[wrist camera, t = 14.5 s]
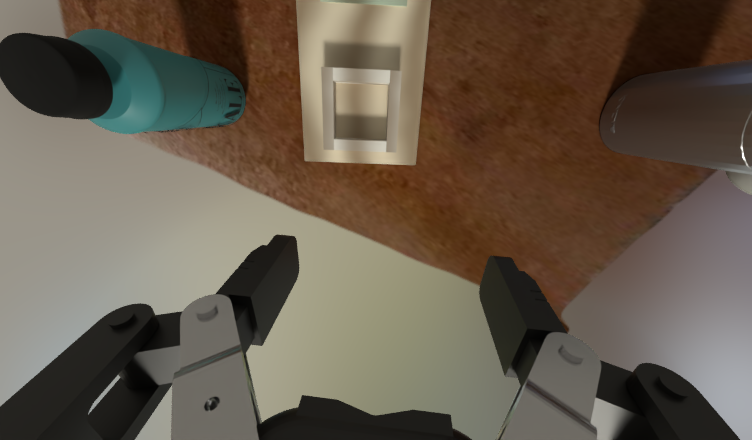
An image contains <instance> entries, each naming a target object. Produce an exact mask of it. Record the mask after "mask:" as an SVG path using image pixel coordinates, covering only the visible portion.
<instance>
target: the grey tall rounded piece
mask: <svg viewBox="0 0 752 440" xmlns="http://www.w3.org/2000/svg"><path fill="white" fill-rule="evenodd" d="M726 174H727V176H728V178H729V179H730V181H731V182H732V183H733V184H734V185H735V186H736V187H738V188H739V189H741V190H742V191H744V192H746V193H748V194H750V195H752V175H750V174H744V173H738V172H732V171H726Z"/></svg>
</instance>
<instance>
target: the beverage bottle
mask: <svg viewBox="0 0 752 440" xmlns="http://www.w3.org/2000/svg"><path fill="white" fill-rule="evenodd" d="M194 57H195V56H194ZM216 64H217V63H216ZM218 65H219V64H217V65H215V64H211V63H208V62H205V61H201V60H198V59H195V58H191V57H188V56H183V55H180V54H177V53H173V52H170V51H167V50H164V49H161V48H157V47H154V46H151V45H148V44H145V43H141V42H138V41H135V40H132V39H129V38H125V37H123V36H121V35H119V34H116V33H113V32H110V31H106V30H101V29H88V30H83V31H80V32H77V33H75V34H74V35H72V36H71V37H70V38H68V39H64V38H60V37H55V36H43V35H37V34H30V33H17V34H12V35H9V36H7V37H6V38H5V39H3V40H2V42H1V43H0V78H1V80H2V81H3V83H4V85H5V86H6V88H7V89H8V90H9V92H10V93H11V94H12V95H13V96H14V97H15V98H16V99H17V100H18V101H19V102H20V103H22V104H23V105H24V106H26V107H27V108H29V109H31V110H33V111H35V112H37V113H40V114H43V115H47V116H51V117H65V118H73V119H89V120H90V121H92V122H93V123H95V124H96V125H98V126H100V127H102V128H104V129H107V130H109V131H113V132H117V133H122V134H135V133H140V132H145V131H160V132H161V133H162V132H167V131H162V130H168V131H169V130H170V131H171V130H172V131H173V130H174V129H180V130H182V129H186V130H187V128H188V129H190V128H194V129H195V128H196V129H197V127H206V128H210V126H211V128H214V127H215V126H219V127H223V125H228V124H231V123H233V122H235V121H236V120H237V121H238V120H239V119H240V116H242V113H243V112H244V109H245V103H246V98H245V93H244V89H243V87H242V85H241V83H240V82H239V79H237V78H236V76H234V75H233V74H232V73H231V72H230V71H229V70H228V69H225V68H223V67H224V66H223V67H221V65H220V66H218ZM237 121H236V122H237ZM208 126H209V127H208ZM212 126H214V127H212ZM202 129H204V128H202ZM170 131H169V132H170ZM172 131H171V132H172ZM176 131H179V130H176ZM183 131H184V130H183ZM145 133H146V132H145Z"/></svg>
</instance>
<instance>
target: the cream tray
mask: <svg viewBox="0 0 752 440" xmlns="http://www.w3.org/2000/svg"><path fill="white" fill-rule="evenodd" d="M430 5H431V0H296V7H297V25H298V44H299V63H300V82H301V100H302V119H303V138H304V156H305V161H319V162H345V163H372V164H398V165H416V155H417V144H418V134H419V123H420V112H421V102H422V91H423V80H424V69H425V59H426V48H427V37H428V27H429V16H430Z"/></svg>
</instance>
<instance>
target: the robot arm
mask: <svg viewBox="0 0 752 440" xmlns="http://www.w3.org/2000/svg"><path fill="white" fill-rule="evenodd" d="M600 134H601V138H602V140H603V142H604V144H605V145H606V146H607V147H608V148H609V149H611V150H613V151H614V152H618V153H622V154H628V155H634V156H640V157H646V158H651V159H657V160H664V161H670V162H676V163H682V164H688V165H695V166H701V167H707V168H713V169H719V170H725V171H732V172H738V173H744V174H750V175H752V60H745V61H738V62H730V63H723V64H716V65H709V66H702V67H694V68H687V69H679V70H672V71H665V72H658V73H651V74H645V75H640V76H638V77H635V78H632V79H631V80H629V81H627V82H626V83H624V84H623V85H622V86H621V87H620V88H618V89H617V90H616V91H615V92H614V94H613V95H612V96H611V97H610V99H609V100H608V102H607V103H606V105H605V107H604V110H603V112H602V115H601V119H600ZM298 273H299V259H298V251H297V241H296V238H295V237H294V236H286V235H275V236H274V237H273V239H272V240H271V241H270V243H269V244H268V245H267V246H266V245H262V246H260V247H258V248H257V249H255V250H254V251H252V252H251V253H250V254H249V255H248V256H247V258H246V259H245V260H244V262H242V263H241V265H240V266H239V267H238V269H236V270H235V272H234V273H233V274H232V275H231V276H230V278H229V279H228V280H227V281H226V282H225V283H224V285H223V286H222V287H221V288H220V289H219V290H218V292H217V293H216V294H214V295H208V296H205V297H202V298H199V299H197V300H195V301H194V302H192V303H191V304H189V305H188V306H187V307H186V308H185V309H184V311H182V312H176V313H169V314H161V315H155V313H154V311H153V309H152V308H151V306H149V305H147V304H132V305H128V306H124V307H121V308H119V309H116V310H115V311H112V312H111V313H109V314H107V315H106V316H104V317H103V318H102V319H100V320H99V321H98V322H97V323H96V324H95V325H93V326H92V327H91V328H90V329H89V330H88V331H87V332H85V333H84V334H83V335H82V336H81V337H80V338H78V339H77V340H76V341H75V342H74V343H73V344H72V345H70V346H69V347H68V348H67V349H66V350H65V351H64V352H62V353H61V354H60V355H59V356H58V357H57V358H56V359H54V360H53V361H52V362H51V363H50V364H49V365H48V366H46V367H45V368H44V369H43V370H42V371H41V372H40V373H38V374H37V375H36V376H35V377H34V378H33V379H31V380H30V381H29V382H28V383H27V384H26V385H25V386H23V387H22V388H21V389H20V390H19V391H18V392H17V393H15V394H14V395H13V396H12V397H11V398H10V399H9V400H7V401H6V402H5V403H4V404H3V405H2V406H1V407H0V440H135V438H136V437H137V435H138V434H139V432H140V431H141V429H142V428H143V426H144V425H145V424H146V422H147V421H148V419H149V418H150V416H151V415H152V413H153V412H154V410H155V409H156V407H157V406H158V404H159V403H160V402H161V400H162V399H163V397H164V396H165V394H166V393H167V391H168V390H169V388H170V387H171V385H172V425H171V427H172V429H171V440H472V439H470V438H469V437H468V436H466V435H465V434H463V433H461V432H459V431H457V430H455V429H453V428H452V422H451V415H449V414H441V413H434V412H426V411H418V410H410V411H403V412H397V413H390V414H385V415H377V416H375V415H370V414H368V413H366V412H364V411H362V410H359V409H357V408H355V407H353V406H350V405H348V404H346V403H344V402H341V401H339V400H334V399H327V398H320V397H312V396H304V395H302V397H301V401H300V404H299V407H298V408H293V409H289V410H286V411H283V412H281V413H278V414H276V415H274V416H272V417H270V418H268V419H267V420H265V421H264V422H262V420H261V417H260V413H259V409H258V405H257V400H256V396H255V391H254V387H253V383H252V378H251V374H250V369H249V365H248V361H247V356H246V352H247V350H248V348H249V347H250V345H251V344H252V345H260V346H262V345H263V343H264V341H265V339H266V338H267V336H268V334H269V332H270V330H271V328H272V326H273V324H274V322H275V320H276V318H277V316H278V315H279V313H280V311H281V309H282V307H283V305H284V303H285V301H286V299H287V297H288V295H289V293H290V291H291V290H292V288H293V286H294V284H295V282H296V280H297V277H298ZM541 292H542V291H541V290H540V288H539V286H538V285H537V283H536V281H535V280H534V279H532V278H531V277H530V276H529V275H528V274H527V273H525V272H524V271H519V270H518V268H517V266H516V265H515V263H514V261H513V259H512V258H510V257H499V256H490V257H489V259H488V261H487V265H486V268H485V271H484V274H483V277H482V281H481V284H480V291H479V294H480V301H481V304H482V307H483V310H484V313H485V316H486V319H487V322H488V325H489V328H490V332H491V335H492V338H493V341H494V344H495V347H496V350H497V353H498V356H499V359H500V362H501V365H502V369H503V372H504V375H505V376H506V377H514V378H518V380H519V382H520V387H519V389H518V391H517V394H516V396H515V398H514V400H513V402H512V404H511V407H510V409H509V411H508V413H507V415H506V418H505V420H504V422H503V424H502V426H501V429H500V431H499V433H498V435H497V437H496V439H495V440H740V439H739V438H738V436H737V435H736V434H735V433H734V432H733V431H732V429H731V428H730V427H729V426H728V425H727V424H726V423H725V421H724V420H723V419H722V418H721V417H720V415H719V414H718V413H717V412H716V411H715V410H714V408H713V407H712V406H711V405H710V404H709V402H708V401H707V400H706V399H705V398H704V397H703V396H702V394H701V393H700V392H699V391H698V390H697V389H696V388H695V387H694V386H693V385H692V384H690V383H689V382H688V381H687V380H685V379H684V378H683V377H681V376H680V375H678V374H676V373H675V372H673V371H671V370H669V369H667V368H665V367H662V366H659V365H656V364H652V363H642V364H640V365H639V366H637V368H636V369H635V370H634V371H633V372H631V371H628V370H625V369H623V368H620V367H617V366H614V365H611V364H609V363H606V362H603V361H601V360H599V358H598V356H597V354H596V353H595V352H594V351H593V350H592V349H591V348H590V347H589V346H588V345H587V344H586V343H584V342H583V341H581V340H580V339H578V338H576V337H574V336H572V335H569V334H567V332H566V330H565V329H564V327H563V325H562V324H561V322H560V320H559V319H558V317H557V316H556V314H555V312H554V311H553V309H552V307H551V306H550V304H549V303H548V302H547V299H546V298H545V296H544V294H543V293H541ZM117 375H119V376H120V379H119V380H118V381H117V382H116V383H115V385H114V386H113V387H112V388H111V389H110V391H109V392H108V393H107V394H106V395H105V396H104V397H103V399H102V400H101V401H100V402H99V403H98V404H97V406H96V407H95V408H94V409H93V410H92V411H91V412H90V414H89V415H88V412H89V410H90V408H91V406H92V404H93V403H94V401H95V400H96V399H97V398H98V397H99V396H100V394H101V393H102V392H103V391H104V390H105V389H106V388H107V387H108V385H109V384H110V383H111V382H112V381H113V380H114V379H115V377H116V376H117Z"/></svg>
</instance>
